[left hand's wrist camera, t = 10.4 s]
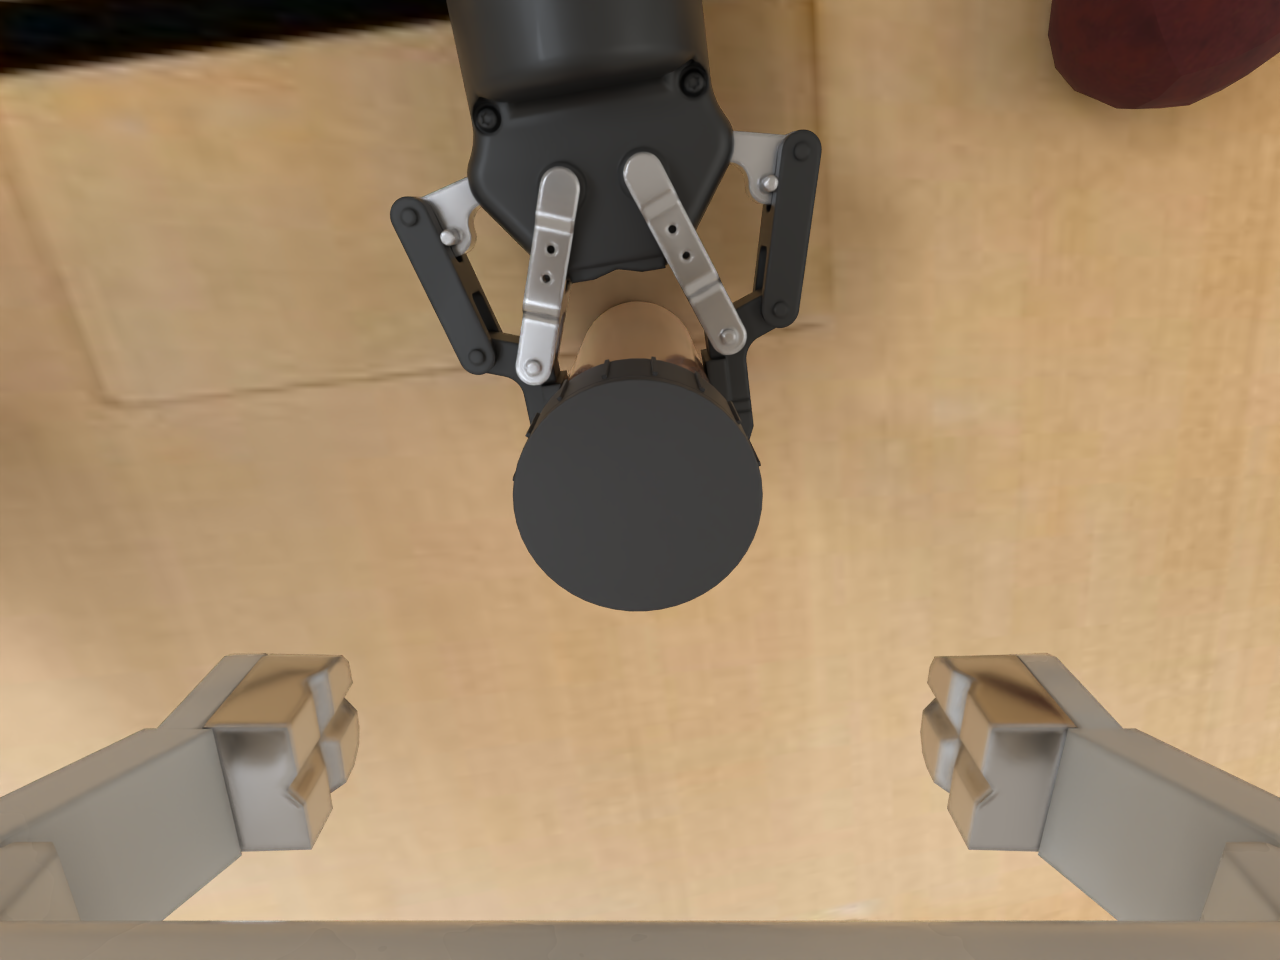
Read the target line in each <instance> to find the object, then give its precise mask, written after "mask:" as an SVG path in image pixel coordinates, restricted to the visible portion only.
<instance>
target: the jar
mask: <svg viewBox="0 0 1280 960" xmlns="http://www.w3.org/2000/svg"><path fill="white" fill-rule="evenodd" d="M651 357H656V360H661V361H665V362H668V363H672V364H676V365H678V366H680V367H683V368H685V369H688V370H690V371H692V372H693V373H695V371H697V372H699V373H700V376H701V377H702V378H703V379H705V380H706V381H707V382H708V383H709V380H708V378H707V375H706V373H705V371H704V368H703V366H702V363H701V361H700V358H699V356H698V353H697V351H696V348H695V346H694V343H693V341H692V338H691V336H690V334H689V332H688V330H687V328H686V327H685V325H684V324H683V323H682V321H681V320H680V319H679V318H678V317H677V316H676V315H674V314H673V313H672V312H671V311H669V310H667V309H666V308H664V307H662V306H659V305H657V304H654V303H650V302H643V301H632V302H626V303H622V304H619V305H616V306H614V307H612V308H610V309H608V310H607V311H605V312H604V313H602V314H601V315H600V316H599V317H598V318H597V319H596V320H595V321H594V322H593V323H592V325H591V326H590V328H589V329H588V331H587V333H586V335H585V338H584V340H583V343H582V345H581V347H580V350H579V352H578V355H577V357H576V360H575V362H574V365H573V367H572V370H571V372H570V375H569V377H568V381H570V380H571V379H572V378H574V377H575V376H577V375H579V374H581V373H582V372H584V371H586V370H588V369H590V368H593V367H595V366H597V365H600V364H603V363H604V362H605V360H607V359H609V361H610V362H611V361H615V360H622V359H629V358H646V359H651Z"/></svg>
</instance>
